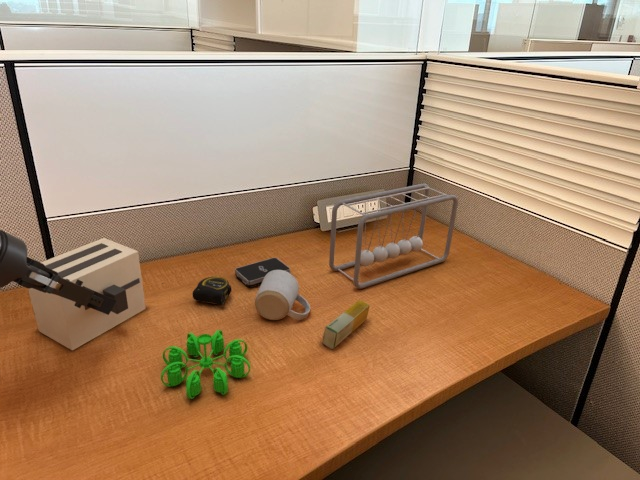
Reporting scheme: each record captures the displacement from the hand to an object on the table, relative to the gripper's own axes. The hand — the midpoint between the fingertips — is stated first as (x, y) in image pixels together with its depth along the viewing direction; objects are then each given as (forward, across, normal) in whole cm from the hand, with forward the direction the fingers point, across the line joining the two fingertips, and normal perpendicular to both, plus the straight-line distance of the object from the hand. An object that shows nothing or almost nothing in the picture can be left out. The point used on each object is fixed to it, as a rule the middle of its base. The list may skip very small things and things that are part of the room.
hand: (110, 306), depth 83 cm
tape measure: (+20, +5, +9) cm, 22 cm away
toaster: (+7, -9, -4) cm, 12 cm away
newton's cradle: (+45, +28, +35) cm, 64 cm away
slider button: (+3, -2, 0) cm, 4 cm away
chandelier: (+8, +19, -3) cm, 21 cm away
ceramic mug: (+23, +18, +12) cm, 32 cm away
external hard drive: (+29, +6, +19) cm, 36 cm away
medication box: (+25, +32, +13) cm, 43 cm away
